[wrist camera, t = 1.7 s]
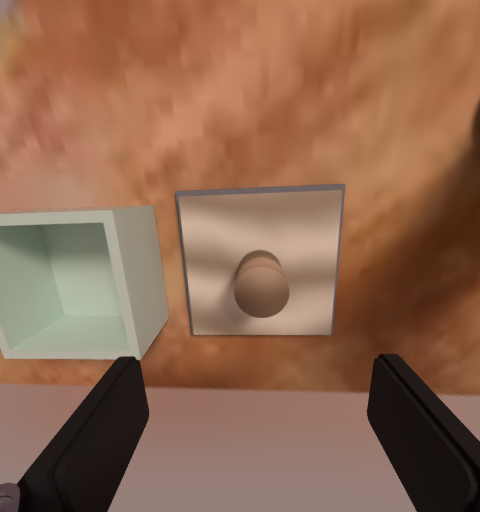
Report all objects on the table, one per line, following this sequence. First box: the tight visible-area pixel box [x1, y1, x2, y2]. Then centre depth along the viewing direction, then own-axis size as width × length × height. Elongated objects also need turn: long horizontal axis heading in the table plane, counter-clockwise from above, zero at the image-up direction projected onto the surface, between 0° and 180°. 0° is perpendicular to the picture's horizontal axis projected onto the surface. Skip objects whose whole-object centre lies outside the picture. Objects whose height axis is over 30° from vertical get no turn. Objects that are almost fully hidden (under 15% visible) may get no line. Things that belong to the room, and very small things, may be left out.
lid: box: [178, 190, 342, 335], centre depth 19 cm, size 14×14×6 cm
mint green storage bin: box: [0, 205, 169, 360], centre depth 20 cm, size 12×12×6 cm
